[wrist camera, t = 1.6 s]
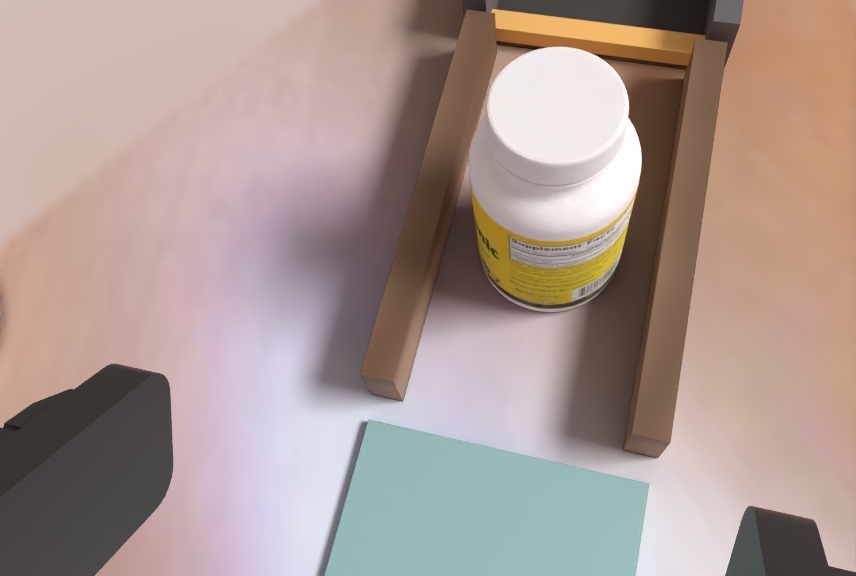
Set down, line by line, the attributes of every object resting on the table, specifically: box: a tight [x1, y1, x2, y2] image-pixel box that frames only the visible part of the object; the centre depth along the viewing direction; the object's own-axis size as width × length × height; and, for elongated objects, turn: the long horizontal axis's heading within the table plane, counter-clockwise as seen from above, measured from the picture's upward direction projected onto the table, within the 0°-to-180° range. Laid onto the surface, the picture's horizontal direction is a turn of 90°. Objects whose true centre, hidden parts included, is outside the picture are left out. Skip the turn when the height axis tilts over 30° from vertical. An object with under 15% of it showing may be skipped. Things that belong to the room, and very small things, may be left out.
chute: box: [360, 10, 728, 458], centre depth 31 cm, size 10×16×2 cm, turn 166°
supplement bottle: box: [469, 47, 642, 312], centre depth 27 cm, size 5×5×10 cm
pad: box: [325, 420, 649, 576], centre depth 27 cm, size 10×8×1 cm
